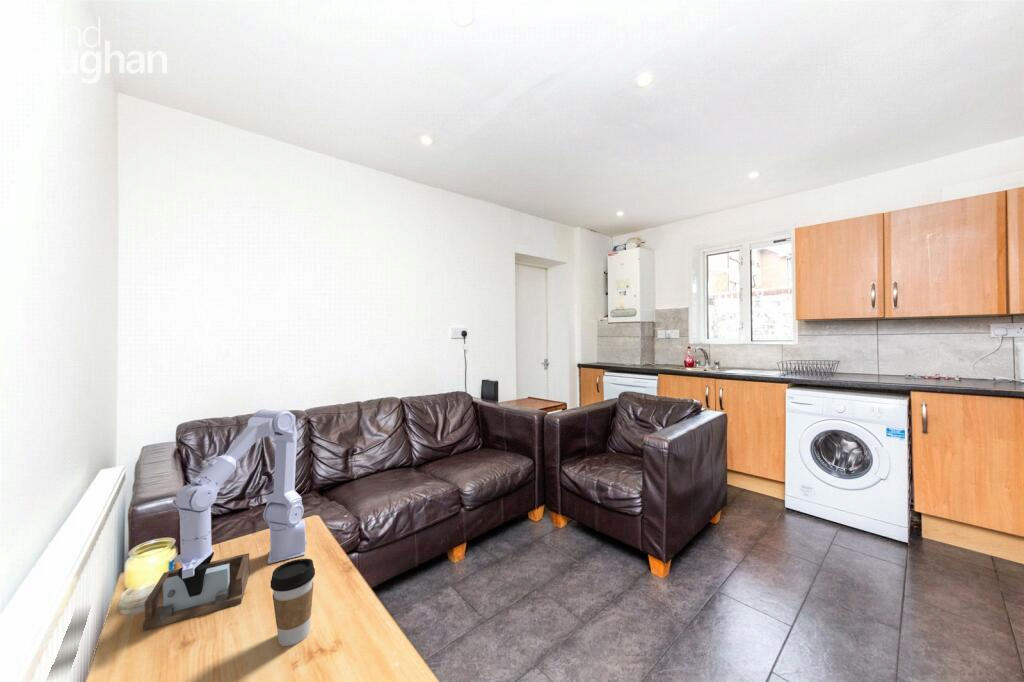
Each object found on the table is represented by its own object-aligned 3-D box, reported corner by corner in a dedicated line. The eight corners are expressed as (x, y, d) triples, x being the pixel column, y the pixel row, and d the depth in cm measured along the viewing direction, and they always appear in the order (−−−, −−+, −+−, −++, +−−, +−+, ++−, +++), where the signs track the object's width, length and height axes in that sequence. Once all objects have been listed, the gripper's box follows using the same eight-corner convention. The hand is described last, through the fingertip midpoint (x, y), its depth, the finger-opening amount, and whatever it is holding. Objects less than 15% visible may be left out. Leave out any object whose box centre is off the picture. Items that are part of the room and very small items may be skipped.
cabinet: (249, 572, 105) (249, 553, 105) (241, 603, 93) (240, 581, 93) (164, 594, 97) (164, 572, 97) (142, 631, 84) (142, 606, 84)
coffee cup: (302, 651, 78) (301, 578, 78) (262, 651, 78) (260, 579, 78) (323, 620, 86) (322, 555, 86) (287, 621, 87) (285, 555, 87)
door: (229, 591, 95) (229, 563, 95) (227, 598, 92) (226, 570, 92) (167, 607, 89) (166, 578, 89) (162, 616, 87) (161, 585, 87)
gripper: (183, 525, 96) (184, 579, 96) (163, 554, 83) (164, 616, 83) (218, 519, 99) (219, 571, 99) (204, 545, 86) (205, 605, 86)
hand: (197, 591), depth 91 cm, fingers closed on door, 2 cm apart
